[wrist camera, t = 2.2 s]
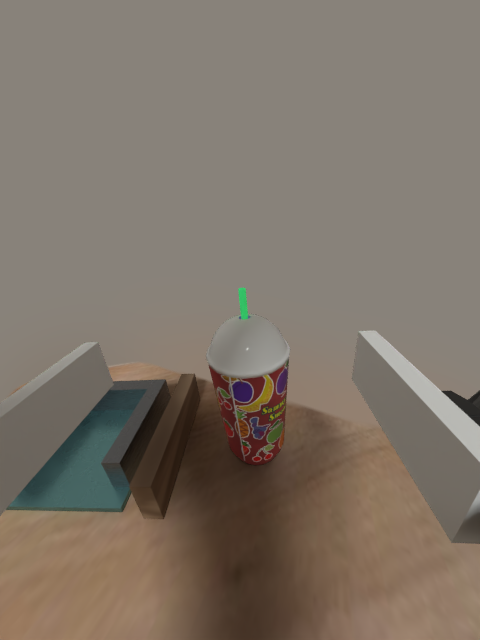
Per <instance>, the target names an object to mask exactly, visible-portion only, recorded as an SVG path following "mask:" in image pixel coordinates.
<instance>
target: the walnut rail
mask: <svg viewBox="0 0 480 640" xmlns="http://www.w3.org/2000/svg"><path fill="white" fill-rule="evenodd" d="M199 401H200V396H199V392H198V387H197V382H196V378H195V374H182V375H181V377H180V379H179V381H178V384H177V386H176V388H175V390H174V392H173V394H172V396H171V398H170V401H169V403H168V405H167V407H166V409H165V411H164V413H163V416H162V418H161V420H160V422H159V424H158V426H157V428H156V430H155V433H154V435H153V437H152V439H151V441H150V443H149V445H148V447H147V450H146V452H145V454H144V456H143V458H142V460H141V462H140V464H139V467H138V469H137V471H136V473H135V475H134V477H133V479H132V482H131V484H130V486H129V488H130V490H131V492H132V494H133V496H134V498H135V501H136V503H137V505H138V507H139V509H140V511H141V513H142V515H143V518H147V519H164V516H165V513H166V509H167V506H168V503H169V500H170V496H171V493H172V490H173V486H174V483H175V480H176V477H177V473H178V470H179V467H180V463H181V460H182V457H183V454H184V450H185V447H186V444H187V440H188V437H189V434H190V431H191V427H192V424H193V421H194V418H195V414H196V411H197V408H198V404H199Z"/></svg>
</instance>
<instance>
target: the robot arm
mask: <svg viewBox="0 0 480 640" xmlns="http://www.w3.org/2000/svg"><path fill="white" fill-rule="evenodd" d="M352 380H353V381H354V383H355V385H356V386H357V388H358V390H359V391H360V393H361V395H362V396H363V398H364V400H365V401H366V403H367V404H368V406H369V408H370V409H371V411H372V413H373V414H374V416H375V418H376V419H377V421H378V422H379V424H380V426H381V427H382V429H383V431H384V432H385V434H386V436H387V437H388V439H389V441H390V442H391V444H392V446H393V447H394V449H395V450H396V452H397V454H398V455H399V457H400V459H401V460H402V462H403V464H404V465H405V467H406V469H407V470H408V472H409V473H410V475H411V477H412V478H413V480H414V482H415V483H416V485H417V487H418V488H419V490H420V492H421V493H422V495H423V497H424V498H425V500H426V501H427V503H428V505H429V506H430V508H431V510H432V511H433V513H434V515H435V516H436V518H437V520H438V521H439V523H440V524H441V526H442V528H443V529H444V531H445V533H446V534H447V536H448V538H449V539H450V541H451V543H476V544H480V390H479V391H478V392H477V393H476V394H475V395H473V396H472V397H471V398H470V399H468V400H466V399H465V398H463V397H461V396H459V395H457V394H456V393H454V392H452V391H440V390H439V389H438V388H437V387H436V386H435V385H434V384H433V383H432V382H431V381H430V380H429V379H427V378H426V377H425V376H424V375H423V374H422V373H421V372H420V371H419V370H417V368H415V367H414V366H413V365H412V364H411V363H410V362H409V361H408V360H407V359H405V357H403V356H402V355H401V354H400V353H399V352H398V351H397V350H396V349H395V348H394V347H393V346H392V345H390V344H389V343H388V342H387V341H386V340H385V339H384V338H383V337H382V336H380V335H379V334H378V333H377V332H376V331H358V338H357V345H356V352H355V359H354V366H353V374H352ZM113 385H114V383H113V381H112V378H111V375H110V373H109V370H108V367H107V364H106V362H105V359H104V356H103V353H102V351H101V348H100V345H99V343H98V342H89V343H84V344H82V345H81V346H79V347H78V348H77V349H75V350H74V351H72V352H71V353H70V354H68V355H67V356H65V357H64V358H63V359H61V360H60V361H58V362H57V363H56V364H54V365H53V366H51V367H50V368H49V369H47V370H46V371H44V372H43V373H42V374H40V375H39V376H37V377H36V378H35V379H33V380H32V381H30V382H29V383H28V384H26V385H25V386H23V387H22V388H21V389H19V390H18V391H16V392H15V393H14V394H12V395H11V396H9V397H8V398H7V399H5V400H4V401H2V402H1V403H0V515H1V514H2V513H3V512H4V511H5V510H6V508H7V507H8V506H9V505H10V504H11V503H12V501H13V500H14V499H15V498H16V497H17V496H18V495H19V493H20V492H21V491H22V490H23V489H24V488H25V486H26V485H27V484H28V483H29V482H30V481H31V480H32V478H33V477H34V476H35V475H36V474H37V473H38V471H39V470H40V469H41V468H42V467H43V466H44V465H45V463H46V462H47V461H48V460H49V459H50V458H51V456H52V455H53V454H54V453H55V452H56V451H57V449H58V448H59V447H60V446H61V445H62V444H63V443H64V441H65V440H66V439H67V438H68V437H69V436H70V434H71V433H72V432H73V431H74V430H75V429H76V428H77V426H78V425H79V424H80V423H81V422H82V421H83V419H84V418H85V417H86V416H87V415H88V414H89V412H90V411H91V410H92V409H93V408H94V407H95V406H96V404H97V403H98V402H99V401H100V400H101V399H102V397H103V396H104V395H105V394H106V393H107V392H108V391H109V389H110V388H111V387H112V386H113Z"/></svg>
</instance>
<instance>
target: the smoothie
mask: <svg viewBox="0 0 480 640" xmlns="http://www.w3.org/2000/svg"><path fill="white" fill-rule="evenodd" d="M238 290H239V301H240V311H241V315H237V316H234V317H232V318H230V319H228V320H227V321H225V322H224V323H223V324H222V325H221V326H220V327H219V328H218V330H217V331H216V332H215V334H214V336H213V339H212V342H211V346H210V347H209V348H208V350H207V354H206V358H207V361H208V363H209V368H210V372H211V376H212V380H213V384H214V388H215V392H216V396H217V400H218V404H219V408H220V412H221V415H222V419H223V423H224V427H225V431H226V435H227V439H228V443H229V446H230V448H231V450H232V452H233V453H234V454H235V455H236V456H237V457H239V458H240V459H241V460H242V461H244V462H246V463H247V464H252V465H262V464H265V463H267V462H269V461H271V460H272V459H273V458H274V457H275V456H276V454H277V453H278V452H279V451H280V450H281V447H282V445H283V441H284V427H285V411H286V395H287V379H288V363H289V354H290V347H289V345H288V343H287V341H286V340H284V339H283V337H282V335H281V333H280V331H279V330H278V328H277V327H276V326H275V325H274V324H273V323H271V322H270V321H269V320H268V319H266V318H264V317H261V316H259V315H254V314H248V311H247V300H246V289H245V288H239V289H238Z"/></svg>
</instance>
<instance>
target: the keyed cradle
mask: <svg viewBox="0 0 480 640" xmlns="http://www.w3.org/2000/svg"><path fill="white" fill-rule="evenodd" d="M113 383H114V385H113V386H112V387H111V388H110V389H109V391H108V392H107V393H106V394H105V395H104V396H103V397H102V399H101V400H100V401H99V402H98V403H97V404H96V406H95V407H94V408H93V409H92V410H91V411H90V412H89V414H88V415H87V416H86V417H85V418H84V419H83V421H82V422H81V423H80V424H79V425H78V426H77V428H76V429H75V430H74V431H73V432H72V433H71V434H70V436H69V437H68V438H67V439H66V440H65V441H64V443H63V444H62V445H61V446H60V447H59V448H58V449H57V451H56V452H55V453H54V454H53V455H52V456H51V458H50V459H49V460H48V461H47V462H46V463H45V465H44V466H43V467H42V468H41V469H40V470H39V471H38V473H37V474H36V475H35V476H34V477H33V478H32V480H31V481H30V482H29V483H28V484H27V485H26V486H25V488H24V489H23V490H22V491H21V492H20V493H19V495H18V496H17V497H16V498H15V499H14V500H13V501H12V503H11V504H10V505H9V506H8V507H7V508H6V510H48V511H100V512H123V509H124V507H125V505H126V503H127V501H128V498H129V496H130V494H131V490H130V488H129V486H130V484H131V482H132V479H133V477H134V475H135V473H136V471H137V469H138V467H139V464H140V462H141V460H142V458H143V456H144V454H145V452H146V450H147V447H148V445H149V443H150V441H151V439H152V437H153V435H154V433H155V430H156V428H157V426H158V424H159V422H160V420H161V418H162V416H163V413H164V411H165V409H166V407H167V405H168V403H169V401H170V398H171V397H170V393H169V390H168V386H167V383H166V380H141V381H114V382H113Z"/></svg>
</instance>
